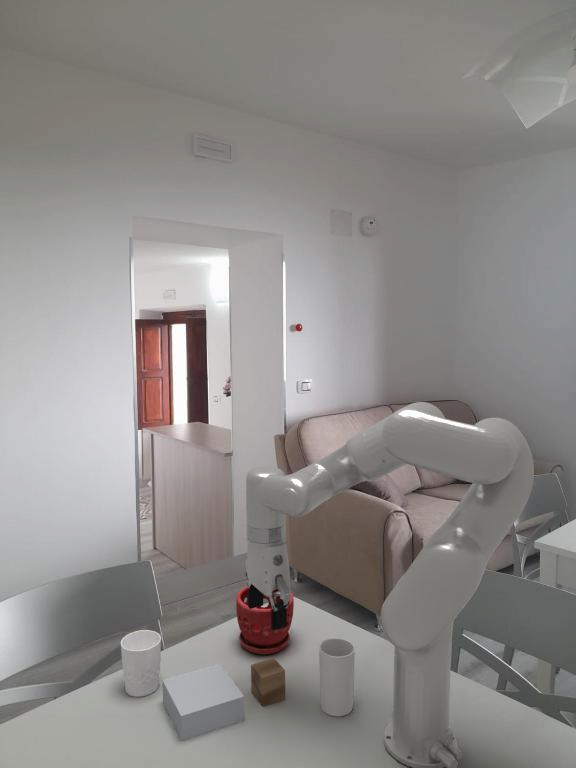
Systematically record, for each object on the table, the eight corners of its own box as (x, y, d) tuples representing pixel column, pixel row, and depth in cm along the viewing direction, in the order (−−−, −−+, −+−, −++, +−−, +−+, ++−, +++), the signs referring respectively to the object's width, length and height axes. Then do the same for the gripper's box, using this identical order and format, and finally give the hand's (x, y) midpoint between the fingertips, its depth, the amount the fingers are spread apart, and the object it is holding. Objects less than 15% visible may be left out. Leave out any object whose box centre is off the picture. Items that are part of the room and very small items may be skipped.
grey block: (244, 721, 109) (244, 696, 109) (181, 742, 104) (181, 716, 103) (220, 686, 120) (220, 663, 119) (162, 704, 114) (162, 679, 114)
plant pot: (224, 647, 134) (224, 597, 132) (261, 624, 144) (261, 577, 143) (269, 667, 126) (269, 614, 124) (305, 641, 136) (305, 591, 135)
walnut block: (285, 699, 115) (285, 670, 115) (262, 707, 113) (262, 677, 112) (273, 685, 120) (273, 657, 119) (251, 693, 117) (251, 664, 116)
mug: (353, 719, 109) (354, 658, 108) (317, 716, 110) (317, 655, 109) (355, 686, 119) (355, 630, 118) (322, 683, 120) (322, 627, 119)
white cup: (114, 694, 116) (112, 647, 115) (135, 672, 124) (134, 627, 123) (149, 702, 114) (148, 653, 113) (169, 679, 122) (168, 633, 121)
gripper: (306, 542, 107) (306, 632, 109) (263, 516, 122) (263, 595, 124) (269, 550, 103) (270, 643, 105) (230, 522, 118) (231, 603, 120)
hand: (266, 617), depth 114 cm, fingers open, 9 cm apart
